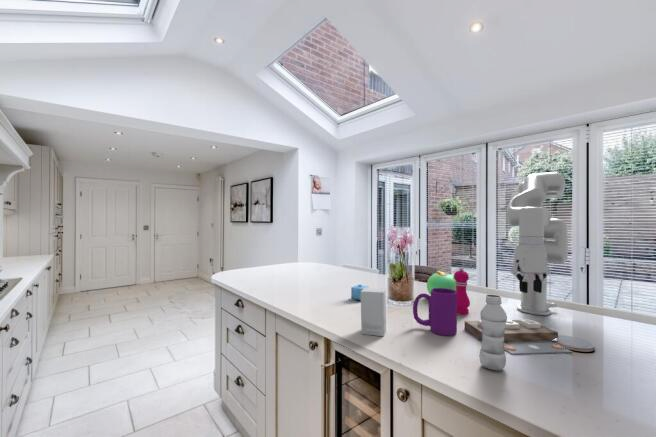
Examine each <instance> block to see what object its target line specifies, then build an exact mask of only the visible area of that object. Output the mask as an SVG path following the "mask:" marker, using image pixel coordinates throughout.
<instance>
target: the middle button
mask: <svg viewBox="0 0 656 437" xmlns="http://www.w3.org/2000/svg"><path fill="white" fill-rule="evenodd" d="M512 320H513V319H507V321H506V326H505V328H506V329H519V324H518V323H516V322H514V321H512Z"/></svg>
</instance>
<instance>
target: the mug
mask: <svg viewBox="0 0 656 437" xmlns="http://www.w3.org/2000/svg"><path fill="white" fill-rule="evenodd" d="M423 298H424V299H426V300H427V301H428V319H422V318H420V317H419V314H418V306H419V302H420V301H421V299H423ZM412 314H413V318H414V320H415V321H416V323H417V324H419V325H421V326H425V327H430V331H431V332H432V333H434V334H435V335H439V336H444V337H449V336H450V337H451V336H454V335H456V334H457V332H458V329H457V328H458V325H457V323H458V314H457V292H456V291H455V290H451V289H446V288H434V289H432V290H431V295H430V294H428V293H420V294H418V295H417V296H416V297H415V299H414V300H413V306H412Z"/></svg>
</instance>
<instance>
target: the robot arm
mask: <svg viewBox="0 0 656 437" xmlns="http://www.w3.org/2000/svg"><path fill="white" fill-rule="evenodd" d="M565 187H566V179H565V177H564V175H563V174H562V173H561V172H555V171H553V172H539V173H531V174H529V175H527V176H526V177H525V178H524V179H523V181H522V182H521V183H519V184H518V188H517V189H518V190H517V191H518V194H517V195H515V196H514V197H512V199H510V200H509V202H508V205H507V209H506V214H505V215H506V216H505V220H506V222H507V224H508V225H509V226H511V227H518V244H516V245H515V250H514V253H513V254H514V255H513V264H512V266H513V267H512V269H511V270H510V273H511V274H512V275H514V276H515V278H516V279H517V280H518V281H519V282H518V283H519V286H518V287H519V292H520V293H521V295H520V297H521V298H520V304H518V305H517V306H516V308H517V311H519V312H523V313H525V314H529V315H536V316H548V315H549V316H550V315H551V313H552V311H551V310H550V308H557V303H555V302H549V301H547V300H548V298H547V295H548V291H547V290H548V285H547V284H548V283H547V282H548V277H547V276H548V275H550V274H551V270H550V268H549V266H548V264H555V265H556V264H557V265H561V264H562V265H563V264H565V263H566V262H567V261H568V257H569V252H568V250H569V248H568V247H569V246H568V245H569V244H568V242H569V241H568V227H567V223H566V221H565V220H563V219H561V218H552V213H551V211H549V209H548V208H547V207H545V205H543V204H544V203H545V201H546V200H547V199H558V198H561V197H562V196H564V193H565V190H566V189H565ZM549 240H550V241H549Z"/></svg>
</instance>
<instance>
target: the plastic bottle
mask: <svg viewBox="0 0 656 437" xmlns="http://www.w3.org/2000/svg"><path fill="white" fill-rule="evenodd" d="M485 303H486V304H485V305H484V306H483V308H482V309H481V310H480V321H481V323H482V341H481V346H480V347H481V348H480V351H479V362H480V364H481V366H482V367H484V368H486V369H487V370H490V371H491V370H492V371H503V369H504V370H505V367H506V366H507V364H506V363H507V355H506V353H505V352H506V351H505V348H504V344H505V343H504V334H505V326H506V321H507V320H508V315H507V312H506V311H505V309H504V308H503V307H502V296H501V295H497V294H491V293H490V294H486V295H485Z"/></svg>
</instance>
